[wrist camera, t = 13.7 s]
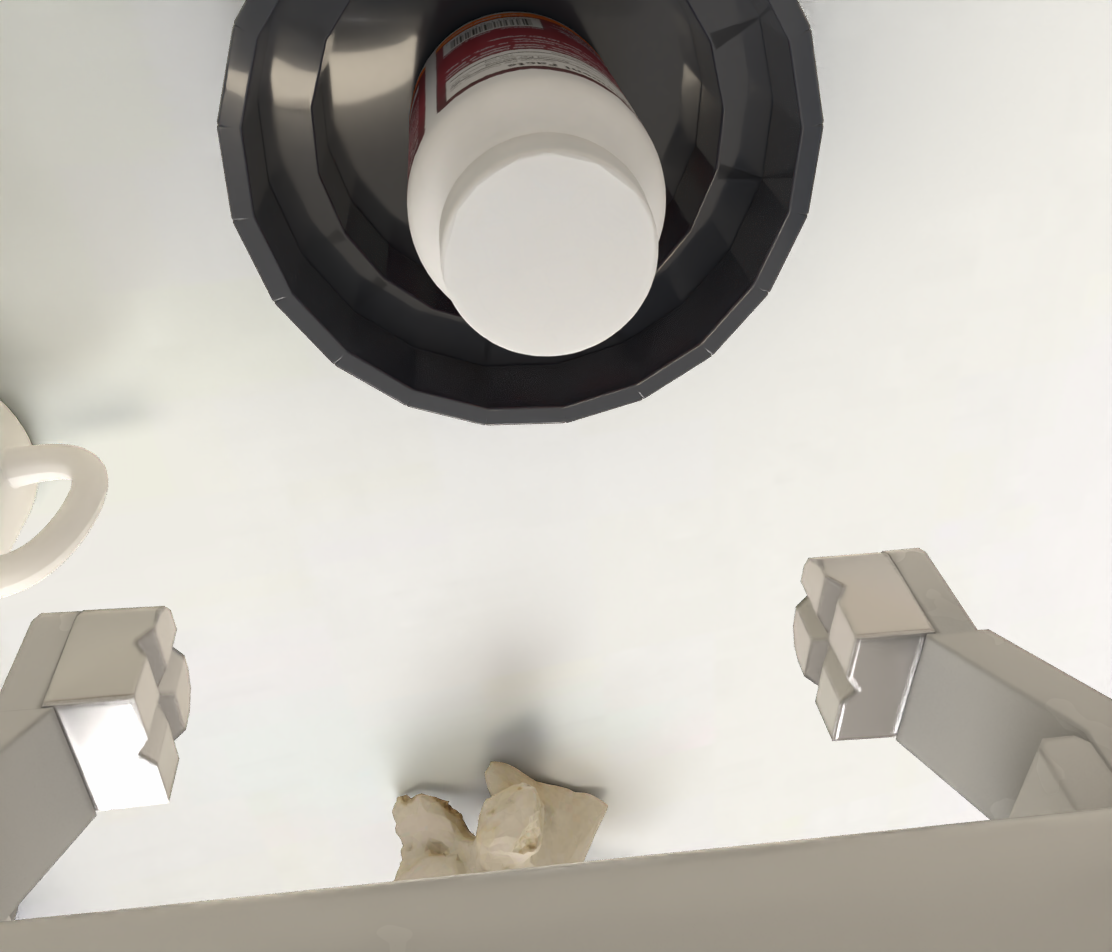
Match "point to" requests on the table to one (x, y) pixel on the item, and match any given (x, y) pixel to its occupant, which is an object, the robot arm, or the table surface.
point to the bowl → (382, 174)
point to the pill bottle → (532, 186)
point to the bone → (497, 828)
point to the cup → (9, 493)
